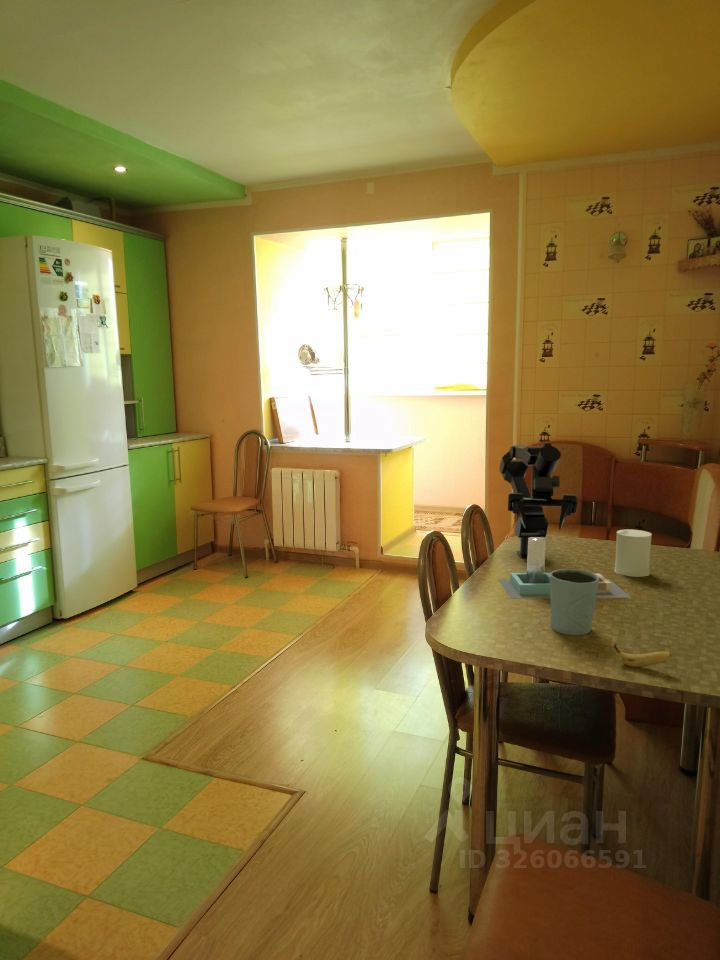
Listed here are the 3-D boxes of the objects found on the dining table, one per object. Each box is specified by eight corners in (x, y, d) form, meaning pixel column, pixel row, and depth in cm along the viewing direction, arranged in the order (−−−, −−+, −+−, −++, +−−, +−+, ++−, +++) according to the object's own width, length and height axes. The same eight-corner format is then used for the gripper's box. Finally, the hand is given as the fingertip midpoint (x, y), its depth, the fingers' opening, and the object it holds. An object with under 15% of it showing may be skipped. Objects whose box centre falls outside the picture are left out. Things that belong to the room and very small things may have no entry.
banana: (670, 670, 124) (671, 650, 124) (669, 675, 122) (671, 654, 122) (613, 660, 129) (614, 641, 128) (612, 665, 127) (613, 645, 126)
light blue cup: (545, 618, 152) (547, 567, 150) (592, 621, 150) (594, 569, 148) (550, 635, 142) (552, 581, 140) (600, 638, 140) (602, 583, 138)
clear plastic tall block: (527, 584, 175) (529, 536, 174) (544, 586, 174) (546, 538, 172) (524, 588, 171) (527, 539, 170) (542, 591, 170) (544, 541, 168)
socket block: (567, 582, 177) (567, 573, 176) (598, 582, 177) (599, 573, 176) (577, 592, 168) (578, 583, 168) (610, 592, 168) (611, 583, 168)
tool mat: (497, 580, 180) (497, 579, 180) (607, 579, 180) (607, 578, 180) (511, 599, 164) (511, 598, 164) (631, 598, 165) (631, 597, 164)
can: (610, 567, 191) (612, 527, 189) (643, 568, 190) (645, 527, 189) (619, 577, 182) (621, 534, 180) (654, 578, 181) (656, 535, 180)
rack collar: (510, 582, 178) (510, 573, 177) (549, 581, 178) (549, 572, 177) (519, 594, 167) (520, 585, 167) (560, 594, 167) (561, 584, 167)
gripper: (509, 464, 186) (508, 510, 177) (578, 466, 183) (581, 513, 174) (508, 487, 195) (507, 532, 186) (574, 489, 191) (576, 535, 182)
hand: (542, 528), depth 182 cm, fingers open, 9 cm apart
